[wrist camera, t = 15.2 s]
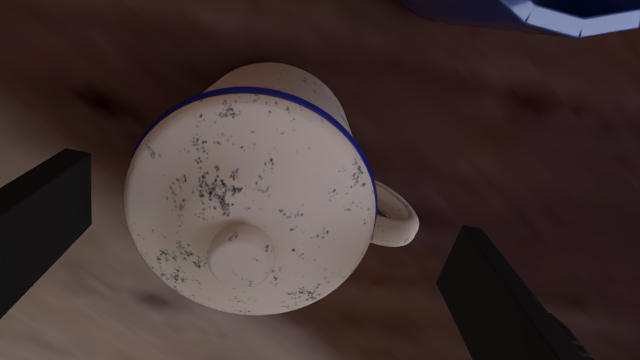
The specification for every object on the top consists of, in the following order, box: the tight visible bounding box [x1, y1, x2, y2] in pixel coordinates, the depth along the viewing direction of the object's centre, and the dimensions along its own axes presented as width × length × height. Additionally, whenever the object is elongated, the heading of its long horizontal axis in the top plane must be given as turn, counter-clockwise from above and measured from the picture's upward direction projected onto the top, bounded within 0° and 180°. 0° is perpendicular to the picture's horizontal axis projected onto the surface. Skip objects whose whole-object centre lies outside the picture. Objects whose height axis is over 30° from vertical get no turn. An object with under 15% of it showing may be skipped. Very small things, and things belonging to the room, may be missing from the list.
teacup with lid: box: [124, 62, 419, 315], centre depth 17 cm, size 12×9×12 cm
